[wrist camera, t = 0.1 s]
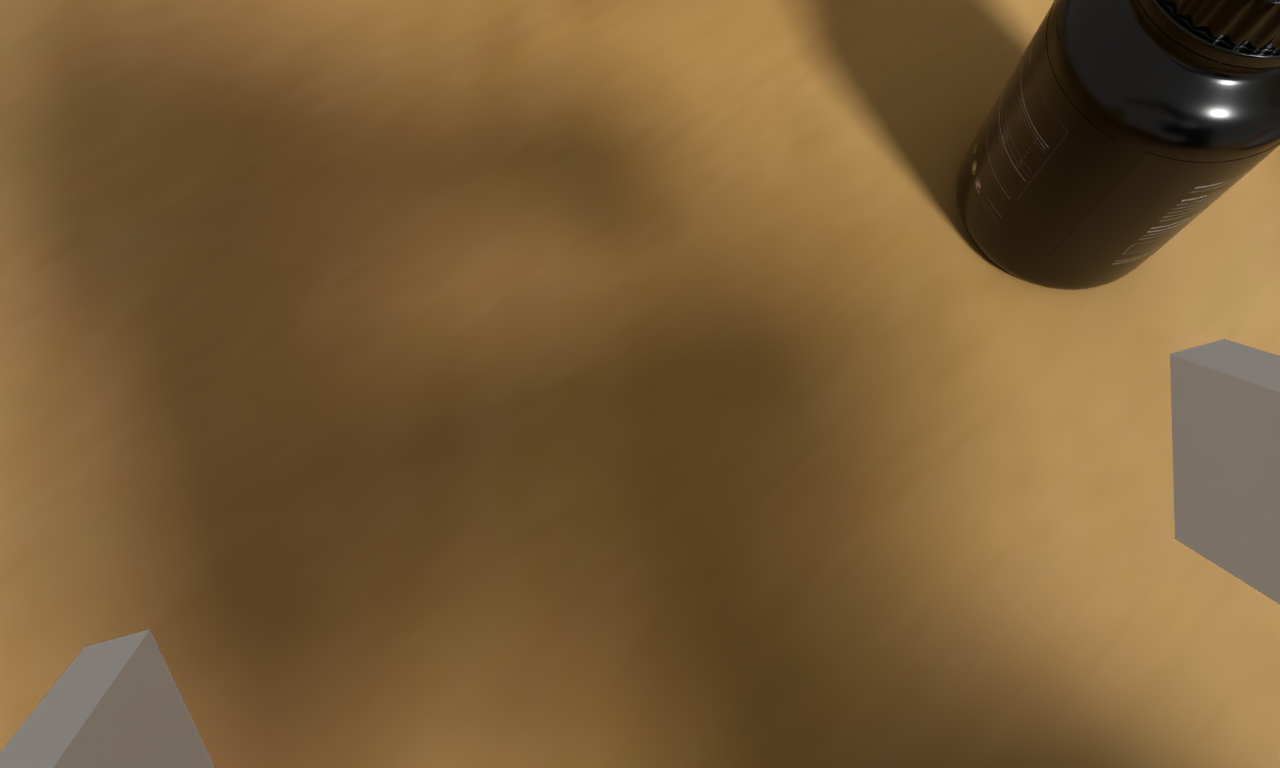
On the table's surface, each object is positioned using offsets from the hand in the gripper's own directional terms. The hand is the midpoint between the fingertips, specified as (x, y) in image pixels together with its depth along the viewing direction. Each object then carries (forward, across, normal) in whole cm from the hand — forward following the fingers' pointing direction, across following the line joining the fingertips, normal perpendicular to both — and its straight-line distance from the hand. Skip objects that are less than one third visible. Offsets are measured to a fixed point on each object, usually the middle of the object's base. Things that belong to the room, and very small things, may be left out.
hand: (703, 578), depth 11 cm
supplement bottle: (+18, -16, +1) cm, 25 cm away
